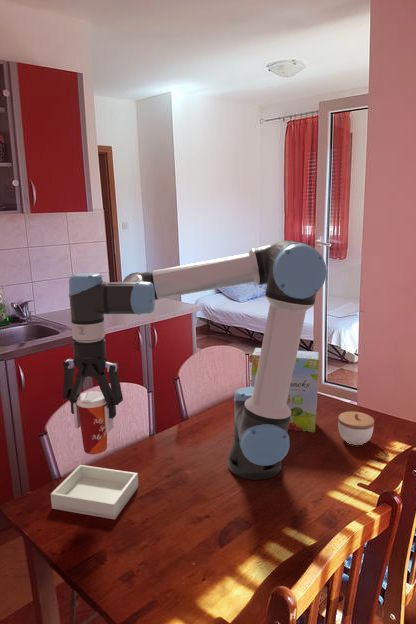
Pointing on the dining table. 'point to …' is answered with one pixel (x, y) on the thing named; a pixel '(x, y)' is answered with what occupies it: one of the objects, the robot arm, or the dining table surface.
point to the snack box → (299, 389)
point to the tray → (95, 491)
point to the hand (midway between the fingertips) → (94, 427)
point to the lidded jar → (355, 427)
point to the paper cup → (92, 421)
